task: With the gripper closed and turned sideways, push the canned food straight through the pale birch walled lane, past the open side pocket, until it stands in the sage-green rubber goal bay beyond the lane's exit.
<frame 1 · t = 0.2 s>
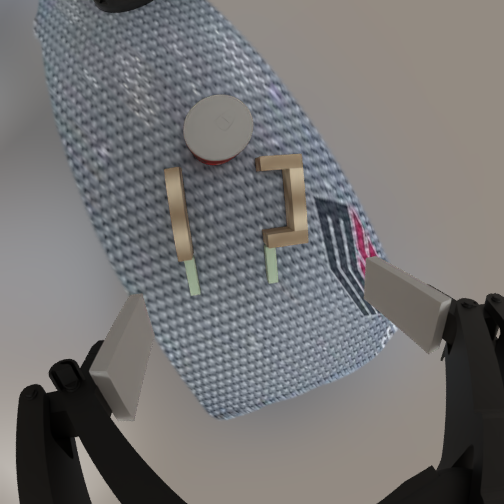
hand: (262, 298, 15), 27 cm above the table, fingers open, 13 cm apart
canned food: (215, 140, 38), on the table
goal bay: (231, 268, 43), on the table
lane: (223, 205, 40), on the table
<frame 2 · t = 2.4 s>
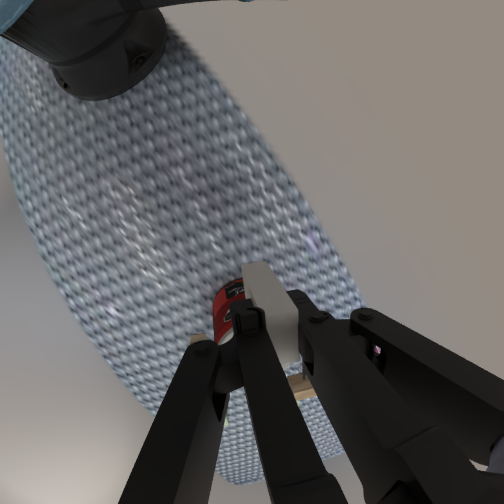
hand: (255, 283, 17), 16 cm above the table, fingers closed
canned food: (242, 304, 35), on the table
lane: (250, 362, 38), on the table
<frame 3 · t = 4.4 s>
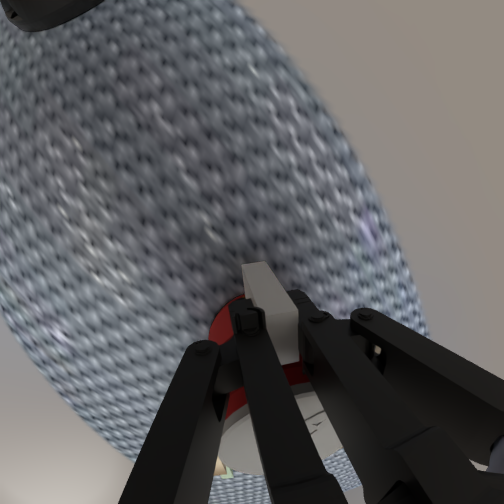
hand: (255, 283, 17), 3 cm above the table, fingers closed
canned food: (256, 330, 21), on the table, touching gripper
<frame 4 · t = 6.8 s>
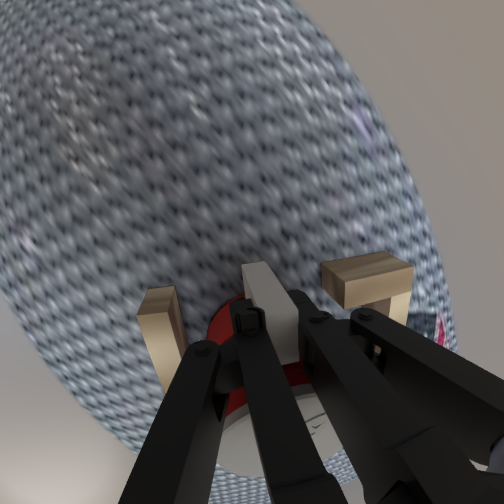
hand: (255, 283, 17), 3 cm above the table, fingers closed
canned food: (254, 331, 21), on the table, touching gripper
lane: (258, 347, 21), on the table
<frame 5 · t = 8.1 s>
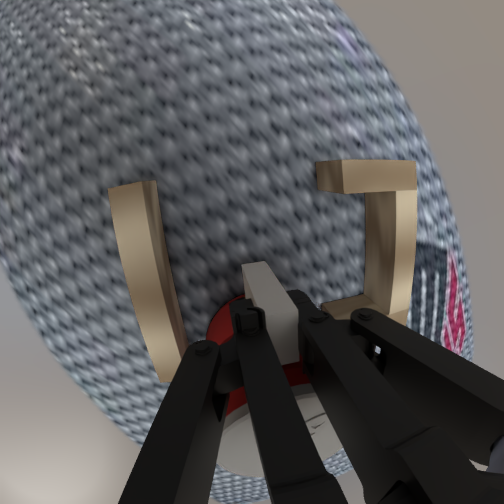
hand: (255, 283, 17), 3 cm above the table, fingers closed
canned food: (254, 331, 21), on the table, touching gripper
lane: (248, 261, 19), on the table
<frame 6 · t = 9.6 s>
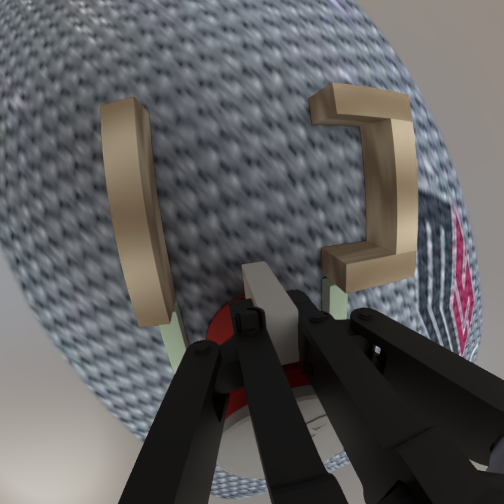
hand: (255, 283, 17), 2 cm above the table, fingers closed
canned food: (254, 332, 21), on the table, touching gripper
goal bay: (256, 325, 21), on the table
lane: (240, 194, 18), on the table
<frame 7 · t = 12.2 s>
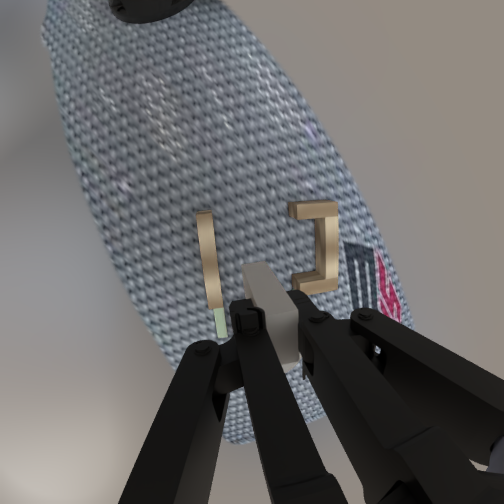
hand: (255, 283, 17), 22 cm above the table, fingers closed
goal bay: (259, 311, 42), on the table
lane: (254, 250, 40), on the table
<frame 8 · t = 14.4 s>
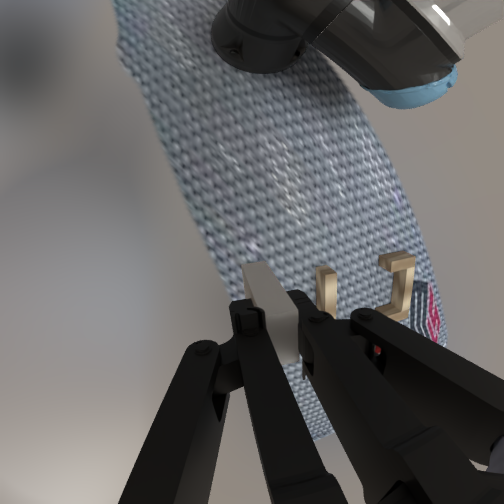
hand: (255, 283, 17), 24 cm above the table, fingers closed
lane: (353, 293, 47), on the table
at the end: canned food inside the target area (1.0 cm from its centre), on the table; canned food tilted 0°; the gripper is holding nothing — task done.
